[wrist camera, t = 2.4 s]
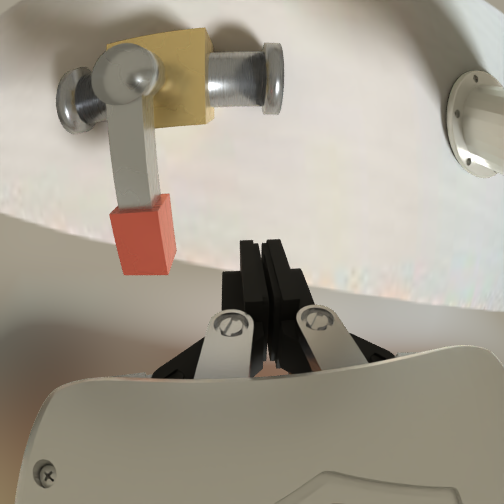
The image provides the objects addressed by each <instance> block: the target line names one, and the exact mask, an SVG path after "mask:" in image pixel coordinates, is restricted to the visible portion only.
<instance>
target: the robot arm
mask: <svg viewBox="0 0 504 504" xmlns="http://www.w3.org/2000/svg"><path fill="white" fill-rule="evenodd" d="M447 129H448V136H449V140H450V144H451V148H452V150H453V152H454V155H455V157H456V159H457V160H458V162H459V164H460V165H461V166H462V167H463V168H464V169H465V170H466V171H467V172H469V173H470V174H472V175H474V176H476V177H479V178H490V177H492V176H495V175H496V174H497V173H500V174H502V175H504V87H503V86H502V85H501V84H500V83H499V81H498V80H497V79H496V78H494V77H493V76H492V75H490V74H488V73H486V72H483V71H469V72H466V73H464V74H463V75H461V76H460V77H459V78H458V79H457V81H456V82H455V84H454V85H453V88H452V90H451V92H450V96H449V100H448V106H447ZM267 344H268V351H269V357H270V361H275V363H276V368H282V369H284V370H286V371H287V372H288V375H280V376H268V377H254V376H255V375H256V374H257V373H258V372H259V371H261V370H262V369H263V361H266V354H267ZM15 504H504V365H503V364H502V363H501V362H500V360H499V359H498V358H497V357H496V356H495V355H494V354H493V353H492V352H491V351H489V350H487V349H485V348H482V347H477V346H470V345H469V346H468V345H459V346H458V345H457V346H449V347H443V348H438V349H434V350H429V351H424V352H419V353H397V355H396V356H394V355H393V354H392V353H390V352H389V351H387V350H385V349H383V348H381V347H379V346H377V345H375V344H372V343H370V342H368V341H366V340H364V339H362V338H360V337H357V336H355V335H353V334H351V333H349V332H348V331H347V329H346V327H345V326H344V325H343V323H342V321H341V320H340V319H339V317H338V315H337V314H336V313H335V312H334V311H333V310H332V309H330V308H328V307H325V306H323V305H315V304H314V301H313V299H312V296H311V293H310V290H309V288H308V285H307V283H306V280H305V278H304V275H303V272H302V270H301V269H300V268H299V269H290V267H289V264H288V261H287V258H286V255H285V252H284V249H283V246H282V243H281V240H280V239H274V240H267V242H266V243H262V254H261V255H260V250H259V245H258V243H254V244H253V240H243V241H240V271H226V272H223V273H222V311H221V312H219V313H217V314H215V315H214V316H213V317H212V318H211V320H210V322H209V324H208V328H207V332H206V336H205V337H204V338H202V339H201V340H199V341H198V342H196V343H195V344H193V345H192V346H191V347H189V348H188V349H186V350H185V351H184V352H182V353H180V354H179V355H178V356H176V357H175V358H173V359H172V360H170V361H169V362H167V363H166V364H164V365H163V366H161V367H160V368H158V369H157V370H156V371H155V372H154V373H153V375H146V374H145V373H138V374H129V375H121V376H112V377H99V378H90V379H83V380H79V381H75V382H71V383H68V384H65V385H63V386H60V387H58V388H57V389H55V390H54V391H53V392H52V393H51V394H50V395H49V396H48V397H47V399H46V400H45V402H44V403H43V405H42V407H41V409H40V411H39V413H38V415H37V417H36V420H35V422H34V425H33V427H32V430H31V433H30V436H29V439H28V442H27V445H26V449H25V452H24V456H23V461H22V465H21V470H20V475H19V480H18V486H17V492H16V498H15Z"/></svg>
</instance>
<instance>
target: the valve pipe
mask: <svg viewBox="0 0 504 504" xmlns="http://www.w3.org/2000/svg"><path fill="white" fill-rule="evenodd" d="M122 43H133V44H136V45H139V46H141V47H143V48H145V49H147V50H149V51H151V52H153V53H155V54H156V55H157V56H159V57H160V59H161V60H162V62H163V64H164V67H165V79H164V82H163V85H162V87H161V88H160V90H159V91H158V93H157V94H156V95H155V96H153V110H154V128H164V127H175V126H186V125H201V124H207V123H208V122H210V121H211V120H213V119H214V107H235V106H262V111H263V114H273V115H278V114H279V113H280V110H281V105H282V99H283V89H284V59H283V51H282V47H281V44H280V43H264V45H263V50H262V52H258V51H236V52H213V44H212V42H211V40H210V38H209V35H208V33H207V31H206V29H205V28H195V29H185V30H177V31H170V32H163V33H157V34H151V35H146V36H140V37H136V38H131V39H127V40H122V41H118V42H114V43H110V44H107V48H106V51H107V50H108V49H109V48H111V47H113V46H115V45H118V44H122ZM91 77H92V72H91V71H90V70H89V69H88V68H85V67H80V68H77V69H74V70H71V71H69V72H67V73H66V74H65V75H64V76H63V77H62V79H61V80H60V83H59V85H58V89H57V94H56V107H57V113H58V117H59V119H60V122H61V124H62V125H63V127H64V128H65V129H66V130H67V131H68V132H69V133H71V134H78V133H83V132H87V131H89V130H91V129H92V128H93V126H94V125H95V123H96V122H100V121H105V120H107V109H106V103H104V102H102V101H101V100H100V99H99V98H98V97H97V96H96V95H95V93H94V91H93V88H92V83H91Z"/></svg>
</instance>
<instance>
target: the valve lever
mask: <svg viewBox="0 0 504 504" xmlns="http://www.w3.org/2000/svg"><path fill="white" fill-rule="evenodd" d="M164 79H165V67H164V64H163V62H162V60H161V59H160V57H159V56H157V55H156V54H155V53H153V52H151V51H149V50H147V49H145V48H143V47H141V46H139V45H136V44H133V43H122V44H118V45H115V46H113V47H111V48H109V49H108V50H107V51H105V52H104V53H103V54H102V55H101V56H100V57H99V59H98V60H97V62H96V64H95V66H94V68H93V71H92V77H91V83H92V88H93V91H94V93H95V95H96V96H97V97H98V98H99V99H100V100H101V101H102V102H104V103H106V109H107V123H108V135H109V145H110V154H111V162H112V169H113V176H114V183H115V189H116V196H117V201H118V206H117V207H116V208H115V209H114V210H113V211H112V212H111V213H110V214H109V215H110V220H111V225H112V229H113V234H114V238H115V242H116V247H117V251H118V254H119V258H120V262H121V266H122V270H123V273H124V275H168V274H169V271H170V268H171V265H172V262H173V259H174V256H175V254H176V251H177V250H176V243H175V235H174V228H173V220H172V212H171V203H170V194H160V185H159V175H158V165H157V154H156V142H155V128H154V110H153V96H155V95H156V94H157V93H158V91H159V90H160V88H161V87H162V85H163V82H164Z"/></svg>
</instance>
